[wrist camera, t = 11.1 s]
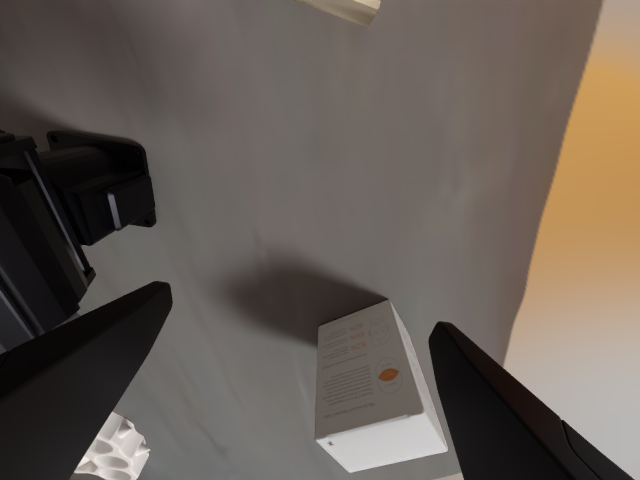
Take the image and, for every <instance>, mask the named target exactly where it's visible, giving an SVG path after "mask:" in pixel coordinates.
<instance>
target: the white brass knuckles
mask: <svg viewBox="0 0 640 480" xmlns="http://www.w3.org/2000/svg"><path fill="white" fill-rule="evenodd" d="M145 443H146V442H145V439H144V436H142V435H140V434H139V433H138V432H136V430H135V429H134V424H132V423H131V422H130V421H129V420H127V419H126V418H125V417H122V416H119V415H117V414H115V413H114V412H112V413H111V414H110V416H109V417H108V419H107V420H106V422H105V424H104V425H103V427H102V428H101V430H100V431H99V433H98V435H97V436H96V438H95V439H94V441H93V443H92V444H91V446H90V447H89V449H88V450H87V452H86V454H85V455H84V457H83V458H82V460H81V462H80V463H79V465H78V466H77V468H76V469H75V471H74V473H90V474H94V475H98V476H100V477H102V478H104V479H107V480H136V479H137V478H138V476H139V474H140V472H141V470H142V468H143V466H144V464H145V462H146V460H147V458H148V456H149V453H147V452H148V451H150V449H149V448H148V447H147V446H146V445H145Z"/></svg>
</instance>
